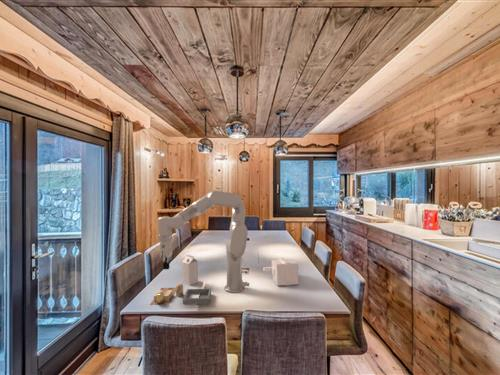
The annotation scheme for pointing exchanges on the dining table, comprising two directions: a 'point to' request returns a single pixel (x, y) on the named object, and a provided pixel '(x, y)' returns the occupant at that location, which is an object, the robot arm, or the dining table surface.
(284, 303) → the dining table surface
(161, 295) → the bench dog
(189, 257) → the milk carton
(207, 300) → the tray
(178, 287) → the dowel
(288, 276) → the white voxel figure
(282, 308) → the dining table surface
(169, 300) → the board
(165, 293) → the thick square wood block
